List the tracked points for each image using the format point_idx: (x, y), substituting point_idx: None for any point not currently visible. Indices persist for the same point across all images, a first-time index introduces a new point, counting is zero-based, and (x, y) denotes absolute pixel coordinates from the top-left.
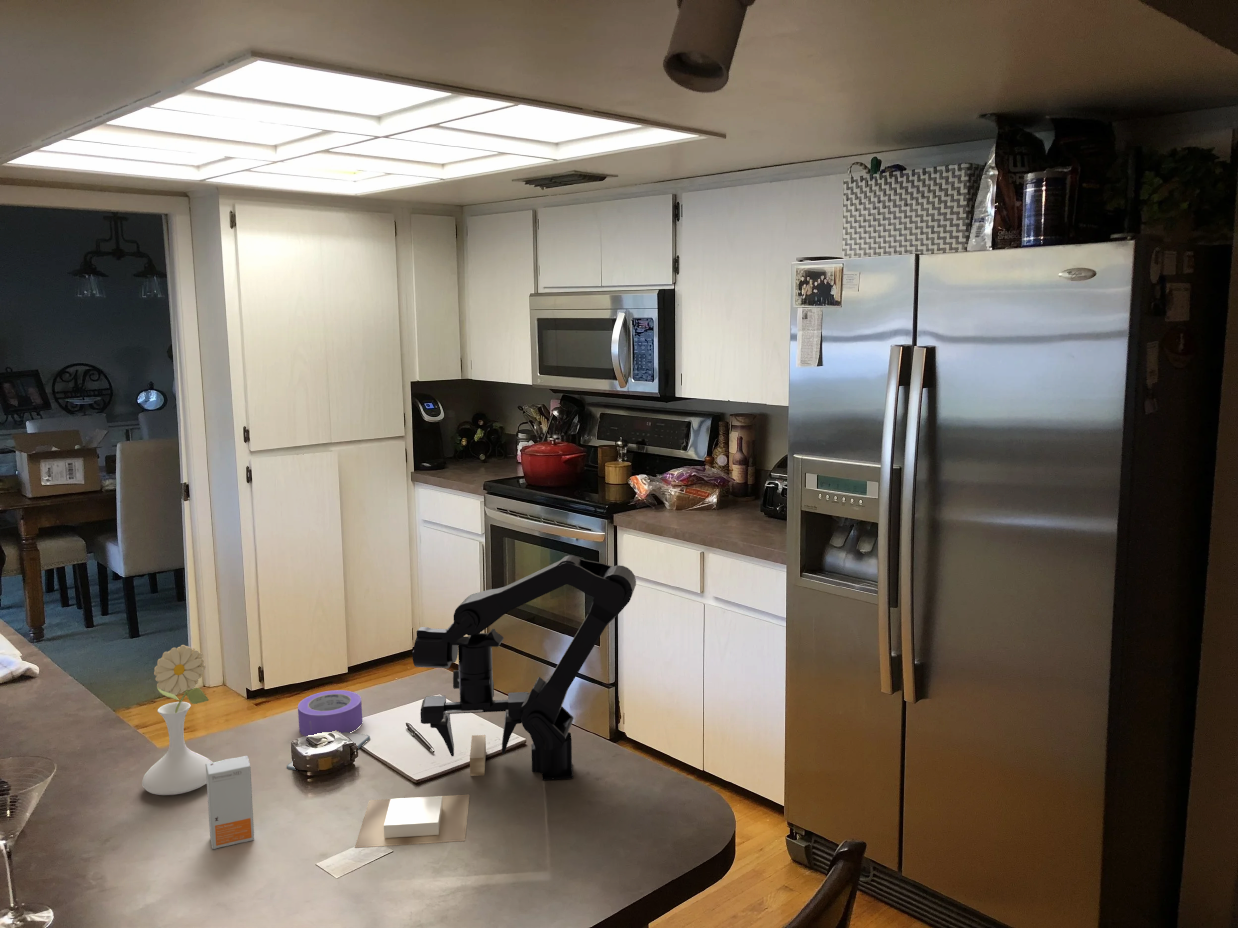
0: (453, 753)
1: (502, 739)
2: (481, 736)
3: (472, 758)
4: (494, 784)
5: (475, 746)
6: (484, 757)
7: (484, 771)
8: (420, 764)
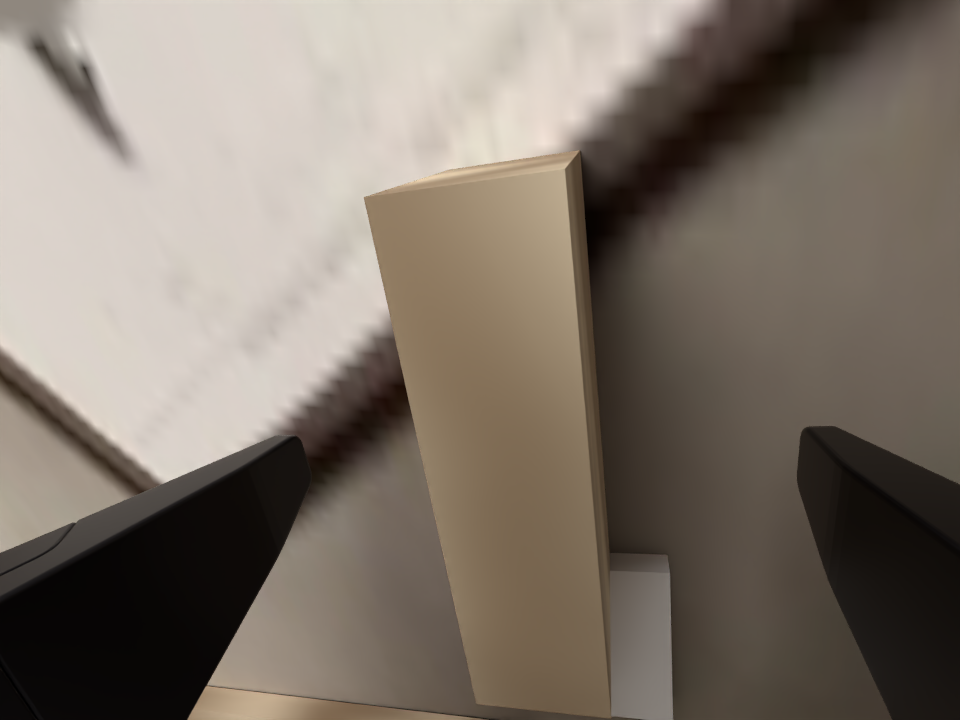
0: (298, 508)
1: (875, 538)
2: (510, 230)
3: (502, 702)
4: (686, 620)
5: (484, 505)
6: (603, 580)
7: (608, 574)
8: (111, 314)
